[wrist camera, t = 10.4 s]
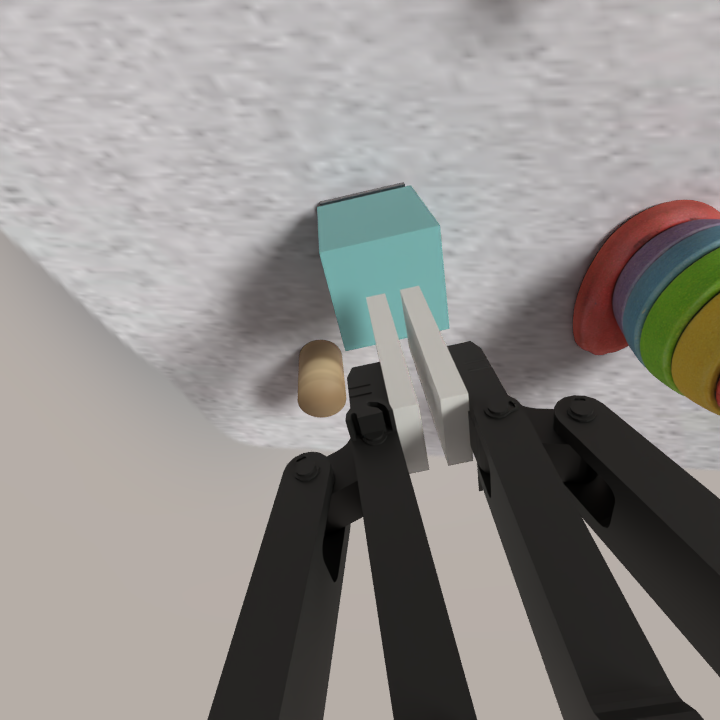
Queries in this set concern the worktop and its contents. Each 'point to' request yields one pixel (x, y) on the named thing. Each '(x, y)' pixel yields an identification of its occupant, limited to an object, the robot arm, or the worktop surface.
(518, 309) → the worktop surface
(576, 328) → the stacking bear
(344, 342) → the teal rectangular prism
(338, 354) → the oak stub
